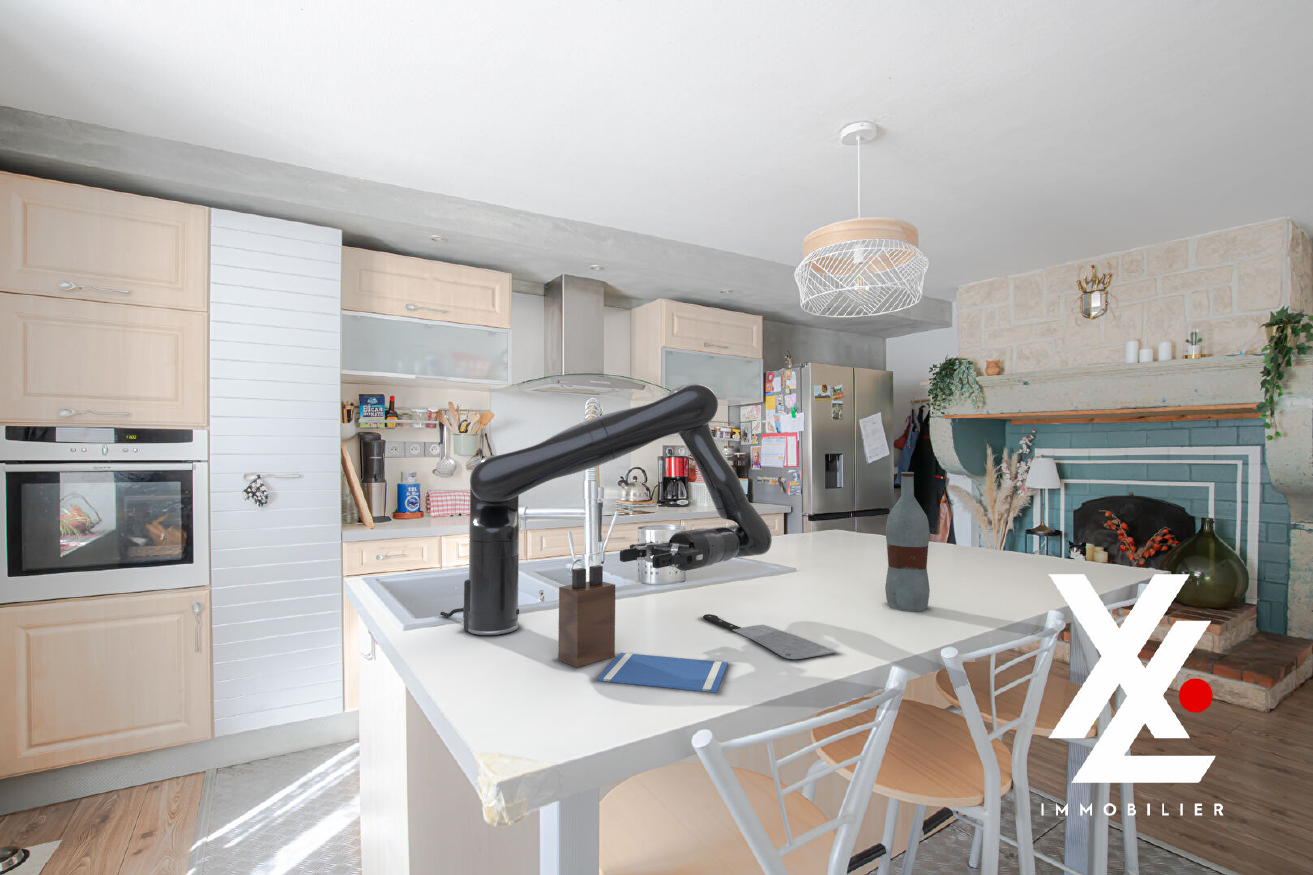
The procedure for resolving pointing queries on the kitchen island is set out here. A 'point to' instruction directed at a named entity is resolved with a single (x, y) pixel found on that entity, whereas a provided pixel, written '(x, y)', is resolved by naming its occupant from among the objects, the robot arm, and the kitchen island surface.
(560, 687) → the kitchen island surface
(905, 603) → the bottle
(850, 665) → the kitchen island surface
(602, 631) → the knife block
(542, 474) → the robot arm
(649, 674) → the towel
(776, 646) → the cleaver
